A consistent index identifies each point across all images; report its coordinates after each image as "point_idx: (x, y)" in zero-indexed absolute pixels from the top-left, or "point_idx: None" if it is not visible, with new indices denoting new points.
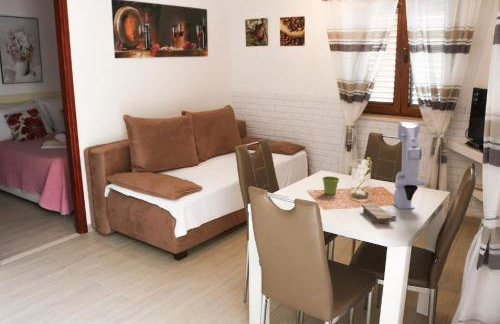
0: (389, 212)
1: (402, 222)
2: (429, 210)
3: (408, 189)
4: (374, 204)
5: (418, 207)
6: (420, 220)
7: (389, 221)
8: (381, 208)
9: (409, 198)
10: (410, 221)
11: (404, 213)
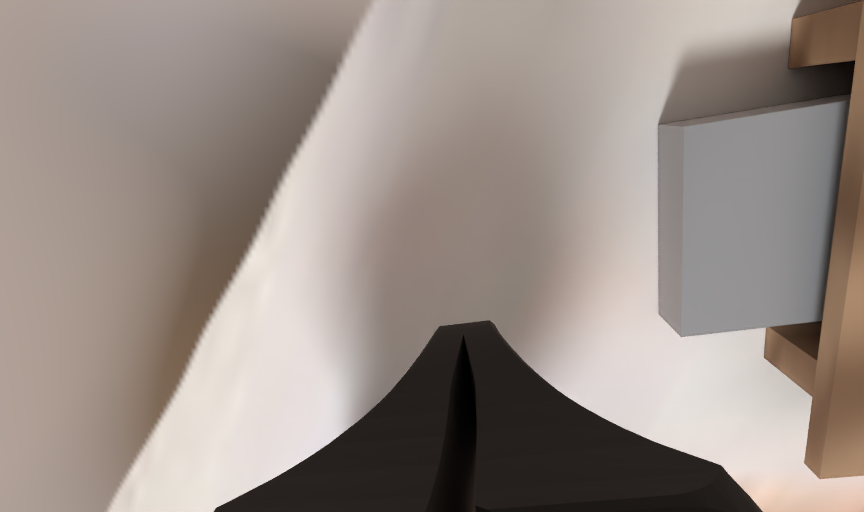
0: (714, 254)
1: (612, 25)
2: (180, 419)
3: (691, 458)
4: (853, 446)
5: None
6: (353, 116)
7: (802, 16)
8: (849, 301)
9: (489, 332)
10: (490, 72)
11: None
